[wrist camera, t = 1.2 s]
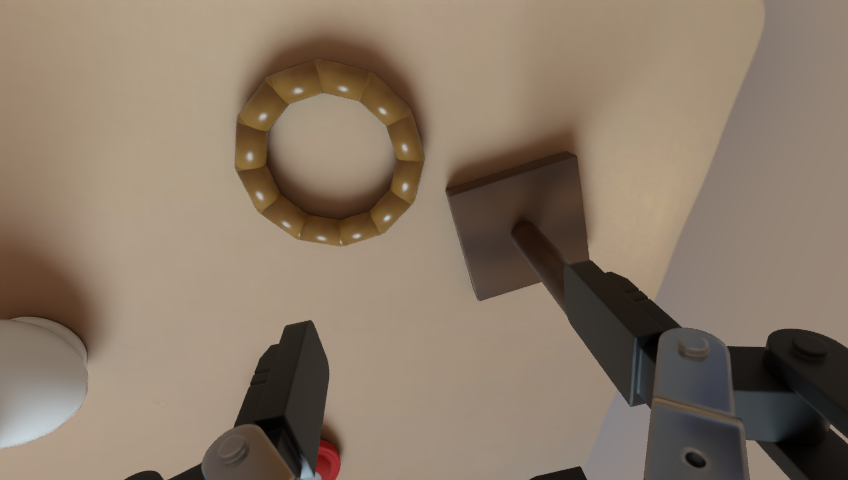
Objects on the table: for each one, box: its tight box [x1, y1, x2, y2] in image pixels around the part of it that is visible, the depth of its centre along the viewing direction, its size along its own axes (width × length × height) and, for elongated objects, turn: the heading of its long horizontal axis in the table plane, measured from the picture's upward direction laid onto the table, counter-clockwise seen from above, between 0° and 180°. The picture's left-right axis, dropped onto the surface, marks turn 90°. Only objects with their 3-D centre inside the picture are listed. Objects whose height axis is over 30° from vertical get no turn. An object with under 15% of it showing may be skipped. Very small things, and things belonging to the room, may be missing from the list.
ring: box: [235, 59, 425, 246], centre depth 25 cm, size 12×12×2 cm
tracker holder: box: [305, 440, 341, 480], centre depth 35 cm, size 12×4×10 cm
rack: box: [445, 151, 589, 315], centre depth 25 cm, size 9×9×12 cm
